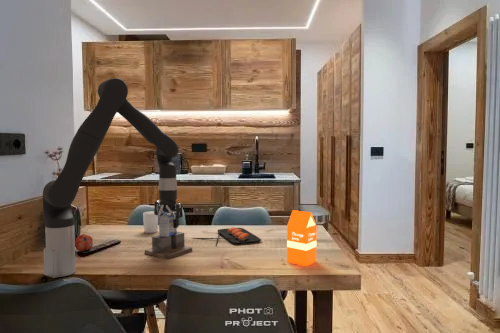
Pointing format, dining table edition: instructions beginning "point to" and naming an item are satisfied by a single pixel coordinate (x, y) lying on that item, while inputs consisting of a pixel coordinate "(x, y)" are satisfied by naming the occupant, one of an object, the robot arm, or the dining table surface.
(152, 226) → the white cup
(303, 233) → the orange juice
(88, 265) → the dining table surface
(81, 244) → the red tomato
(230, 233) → the sushi plate
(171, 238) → the display stand
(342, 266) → the dining table surface
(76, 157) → the robot arm
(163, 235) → the medicine box
